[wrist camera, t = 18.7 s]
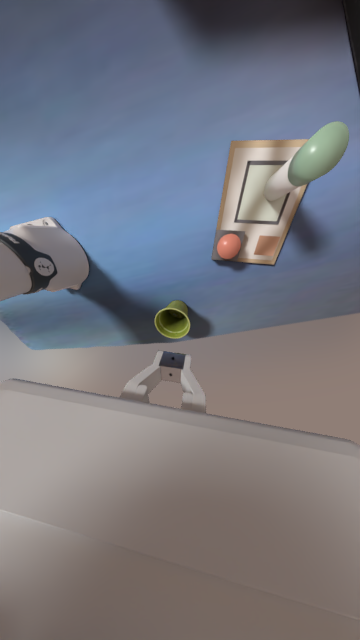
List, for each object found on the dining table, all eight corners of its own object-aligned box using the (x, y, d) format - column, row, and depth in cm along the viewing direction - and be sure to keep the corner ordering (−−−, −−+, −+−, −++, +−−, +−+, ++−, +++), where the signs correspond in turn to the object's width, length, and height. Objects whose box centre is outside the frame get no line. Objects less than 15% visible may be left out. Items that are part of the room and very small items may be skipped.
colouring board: (211, 258, 32) (211, 260, 30) (230, 143, 22) (233, 134, 20) (272, 264, 31) (277, 265, 29) (322, 141, 21) (334, 131, 19)
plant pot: (198, 303, 39) (196, 318, 32) (185, 326, 44) (181, 343, 37) (169, 289, 38) (160, 301, 31) (160, 314, 44) (150, 329, 36)
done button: (215, 256, 29) (215, 258, 28) (219, 233, 27) (219, 233, 25) (235, 258, 29) (237, 259, 27) (241, 234, 26) (243, 234, 25)
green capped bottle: (259, 201, 25) (294, 177, 15) (268, 172, 23) (314, 122, 13) (281, 201, 24) (332, 178, 14) (292, 172, 22) (359, 120, 12)
